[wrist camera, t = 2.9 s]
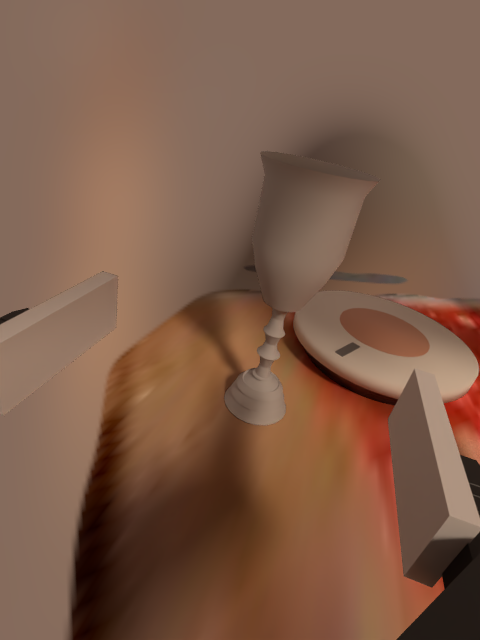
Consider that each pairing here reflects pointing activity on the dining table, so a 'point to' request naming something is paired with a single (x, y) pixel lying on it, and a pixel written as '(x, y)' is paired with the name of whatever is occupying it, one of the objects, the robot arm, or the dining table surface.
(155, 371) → the dining table surface
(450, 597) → the robot arm
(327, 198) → the chalice
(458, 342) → the turntable
